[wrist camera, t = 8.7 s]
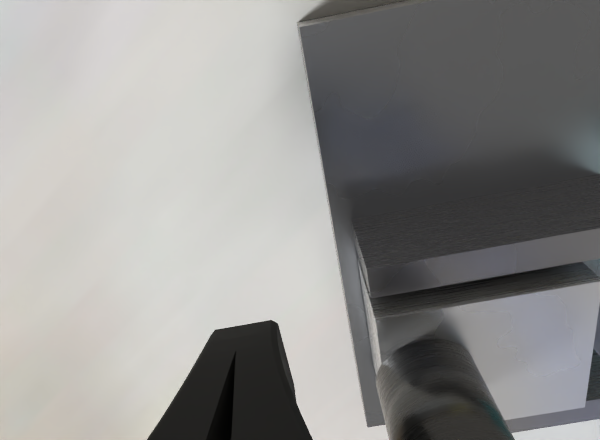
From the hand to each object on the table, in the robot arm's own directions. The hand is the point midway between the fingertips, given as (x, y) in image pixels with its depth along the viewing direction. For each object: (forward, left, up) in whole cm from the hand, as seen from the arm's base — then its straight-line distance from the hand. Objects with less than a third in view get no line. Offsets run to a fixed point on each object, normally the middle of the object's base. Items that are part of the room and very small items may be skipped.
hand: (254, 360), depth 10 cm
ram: (-2, -5, -3) cm, 6 cm away
